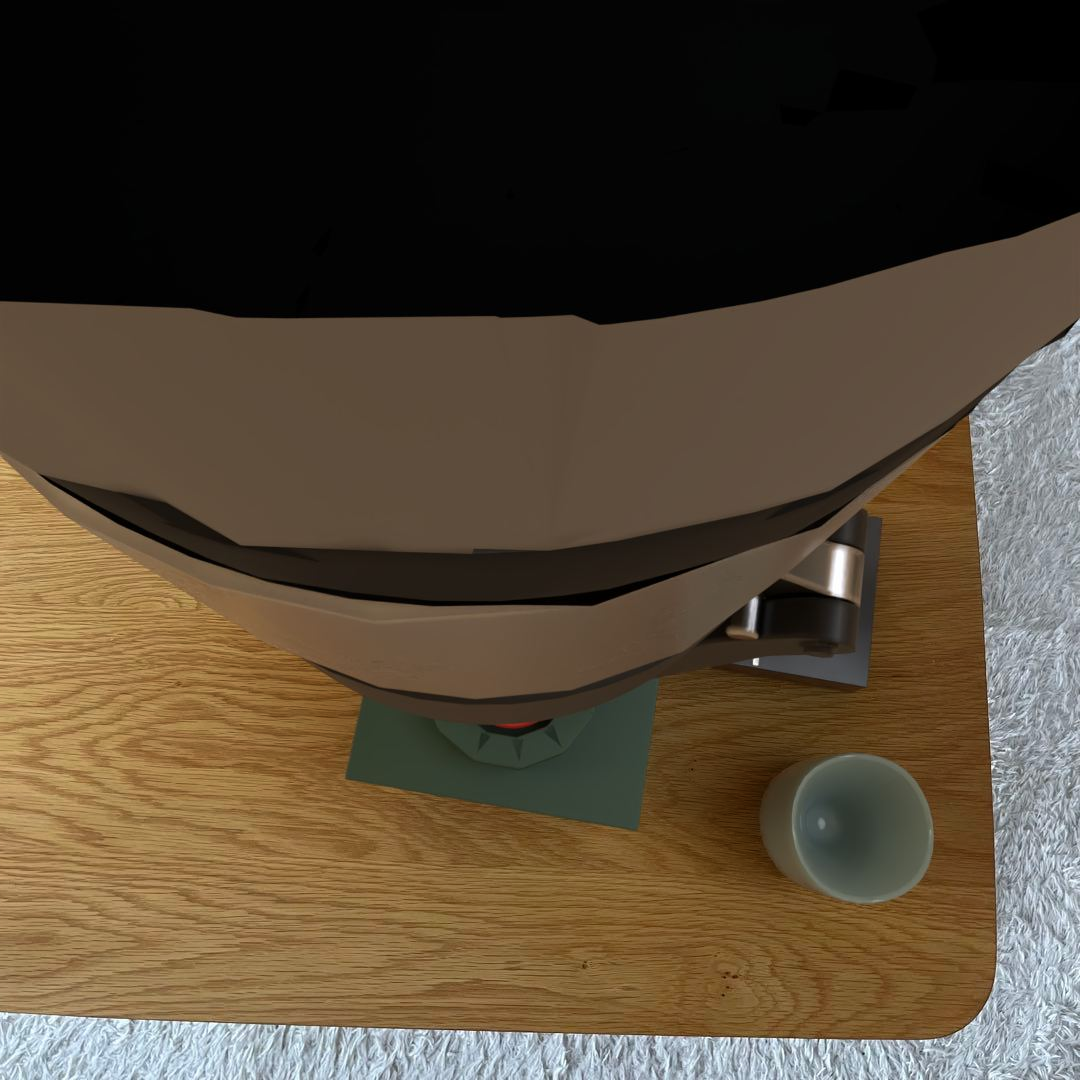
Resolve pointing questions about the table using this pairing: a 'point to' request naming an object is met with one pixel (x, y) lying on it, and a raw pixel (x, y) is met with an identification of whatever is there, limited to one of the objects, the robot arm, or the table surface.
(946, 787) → the table surface
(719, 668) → the dial plate
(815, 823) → the cup
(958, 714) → the table surface
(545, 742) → the post
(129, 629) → the table surface
